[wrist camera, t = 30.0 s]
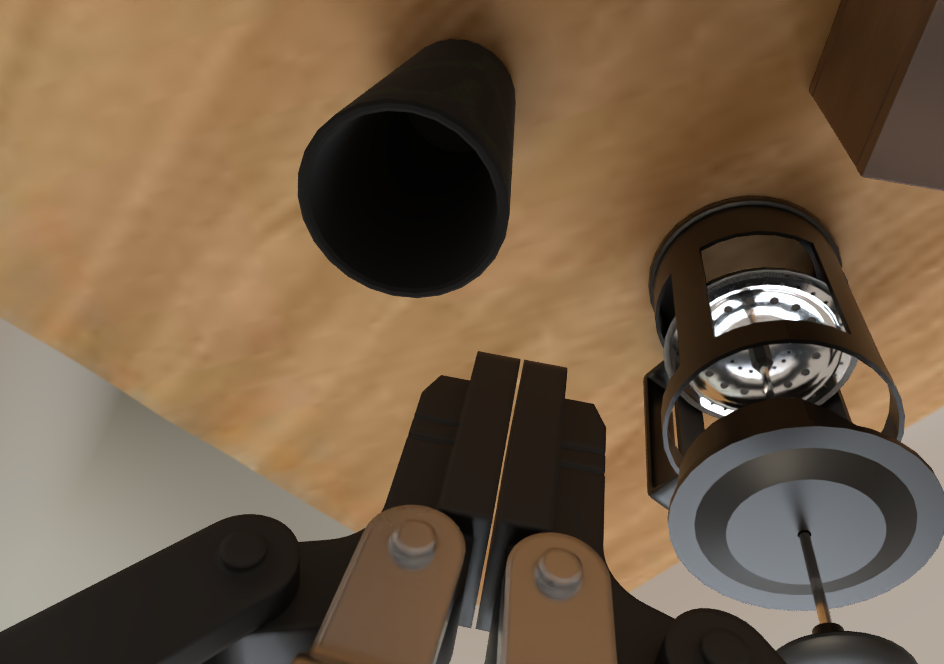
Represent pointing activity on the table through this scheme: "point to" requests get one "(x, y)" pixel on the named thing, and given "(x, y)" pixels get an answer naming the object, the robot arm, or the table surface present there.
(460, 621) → the robot arm
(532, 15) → the table surface
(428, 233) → the cup
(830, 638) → the french press
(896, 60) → the cabinet
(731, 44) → the table surface
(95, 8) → the table surface
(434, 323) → the table surface
